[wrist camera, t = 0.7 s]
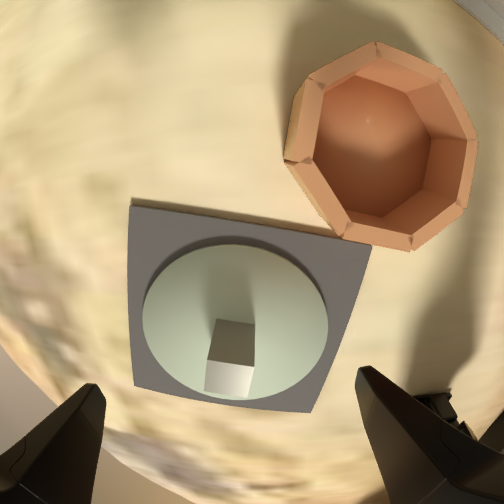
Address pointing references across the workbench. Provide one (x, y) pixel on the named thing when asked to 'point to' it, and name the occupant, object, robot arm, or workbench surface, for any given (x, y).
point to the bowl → (382, 147)
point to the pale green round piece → (235, 321)
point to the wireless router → (487, 14)
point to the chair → (495, 435)
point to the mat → (240, 232)
